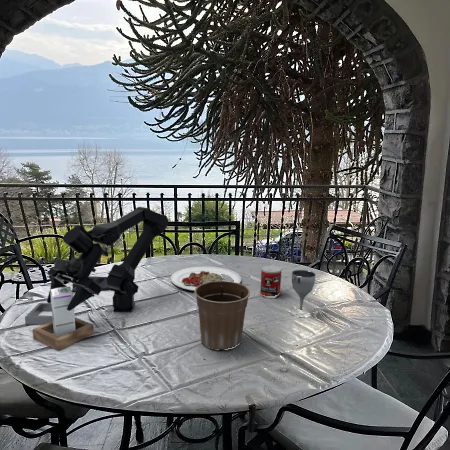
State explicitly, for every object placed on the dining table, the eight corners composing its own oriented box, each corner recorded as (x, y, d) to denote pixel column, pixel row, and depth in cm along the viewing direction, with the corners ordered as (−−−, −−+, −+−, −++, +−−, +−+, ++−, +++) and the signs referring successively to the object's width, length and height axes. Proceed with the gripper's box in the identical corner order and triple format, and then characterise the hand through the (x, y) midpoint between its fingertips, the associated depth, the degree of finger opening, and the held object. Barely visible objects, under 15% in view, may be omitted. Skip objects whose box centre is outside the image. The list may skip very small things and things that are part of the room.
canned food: (257, 296, 151) (259, 269, 148) (263, 290, 158) (264, 264, 155) (276, 300, 148) (278, 272, 145) (282, 293, 155) (283, 266, 153)
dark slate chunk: (125, 293, 151) (125, 281, 150) (68, 293, 150) (67, 281, 149) (132, 279, 166) (132, 269, 165) (80, 279, 165) (79, 268, 164)
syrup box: (76, 337, 116) (74, 292, 113) (55, 342, 113) (51, 295, 110) (73, 329, 121) (70, 285, 117) (52, 333, 118) (49, 288, 115)
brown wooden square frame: (68, 323, 125) (67, 314, 124) (93, 333, 118) (93, 324, 118) (33, 338, 115) (32, 329, 114) (59, 350, 108) (58, 340, 108)
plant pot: (229, 362, 105) (231, 306, 102) (182, 344, 114) (183, 292, 110) (257, 337, 119) (259, 288, 116) (213, 323, 127) (214, 277, 124)
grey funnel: (314, 311, 139) (317, 271, 135) (309, 320, 132) (312, 278, 128) (292, 307, 142) (295, 268, 139) (286, 315, 135) (289, 274, 132)
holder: (72, 309, 134) (71, 303, 134) (61, 324, 124) (60, 317, 123) (39, 309, 134) (39, 302, 133) (25, 324, 123) (24, 317, 122)
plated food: (253, 279, 171) (254, 272, 170) (215, 301, 146) (215, 293, 145) (198, 266, 186) (198, 259, 185) (155, 284, 161) (155, 276, 161)
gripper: (50, 242, 119) (18, 286, 112) (91, 252, 109) (59, 302, 102) (74, 260, 127) (45, 303, 120) (114, 271, 118) (85, 318, 111)
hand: (57, 306), depth 113 cm, fingers open, 9 cm apart
